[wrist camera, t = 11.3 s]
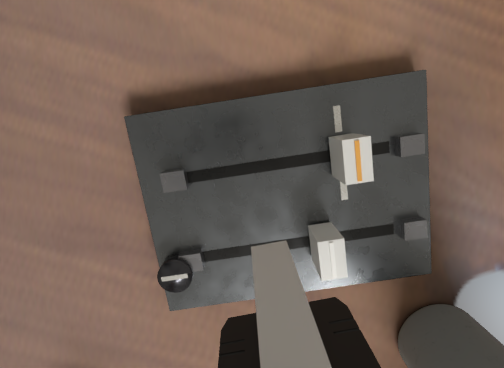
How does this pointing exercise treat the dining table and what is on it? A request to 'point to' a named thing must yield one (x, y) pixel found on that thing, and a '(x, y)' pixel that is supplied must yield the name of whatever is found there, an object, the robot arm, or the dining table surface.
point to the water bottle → (447, 340)
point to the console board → (284, 185)
